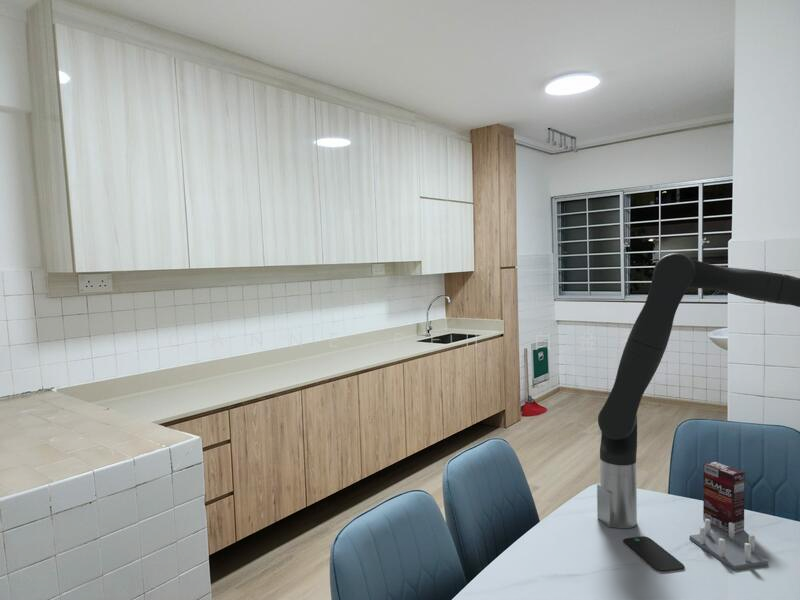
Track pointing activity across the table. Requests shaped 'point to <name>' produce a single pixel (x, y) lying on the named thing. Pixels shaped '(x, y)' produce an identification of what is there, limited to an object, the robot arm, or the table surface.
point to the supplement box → (724, 496)
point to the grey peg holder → (728, 547)
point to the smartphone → (653, 554)
